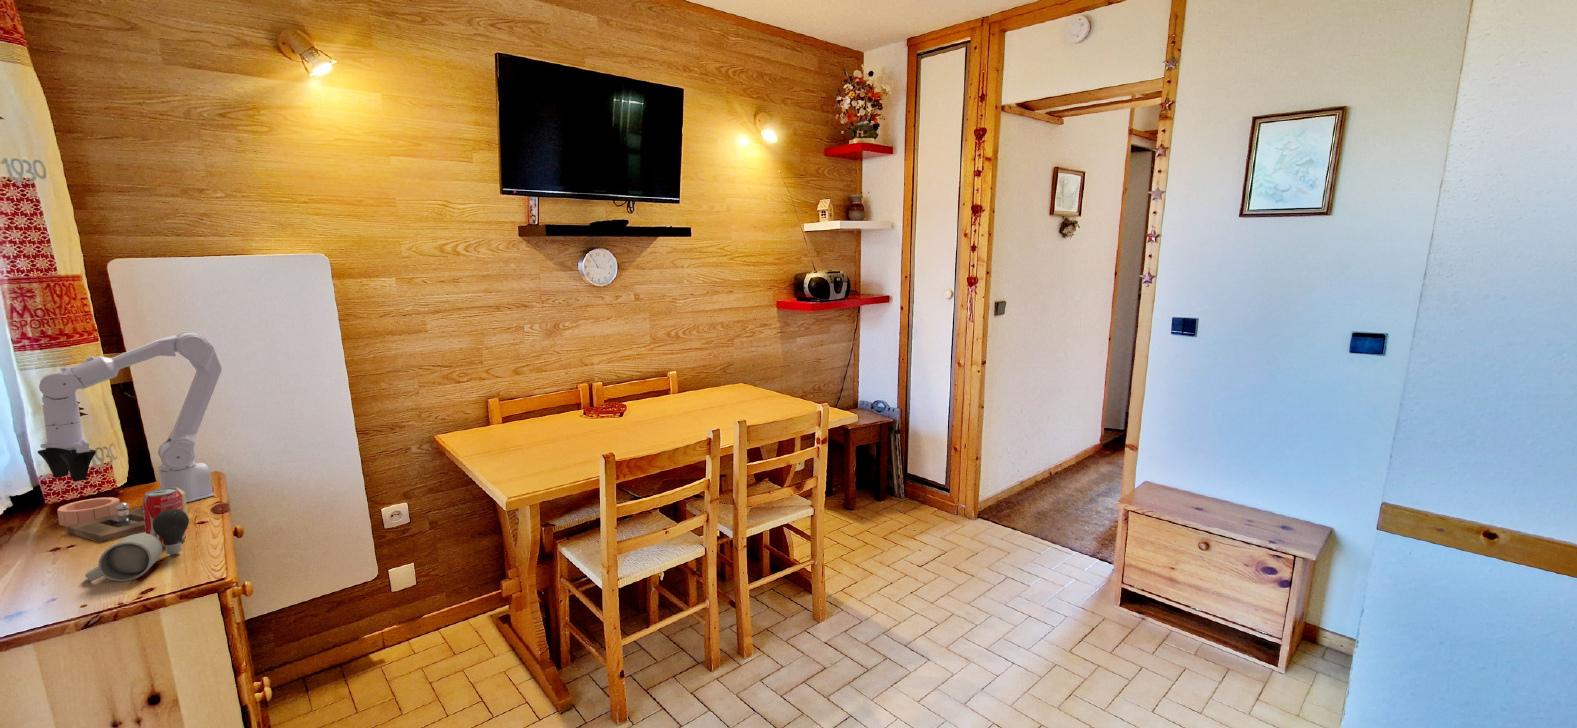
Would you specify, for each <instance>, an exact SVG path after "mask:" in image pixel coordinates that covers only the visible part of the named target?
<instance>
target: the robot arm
mask: <svg viewBox="0 0 1577 728" xmlns="http://www.w3.org/2000/svg"><path fill="white" fill-rule="evenodd" d="M176 353H178V354H179V355H180V356H182V357H183V358H184V359H186V360H188V361H189V363H190V364H191V365H192V367H193V368H194V369H195V370H196V371H195V374H194V376H193V379H192V381H191V384H190V386H189V389H188V390H187V391H188V392H187V394H186V397H185V399H184V402H183V404H182V406H181V409H180V411H179V415H178V417H177V419H176V422H175V423H174V426H173V428H172V430H171V431H170V433H169V436H168V438H167V439H166V440H165V441H164V442H162V444H160V446H159V448H158V451H157V453H158V456H159V458H160V461H161V465H160V466H158V475H159V483H160V484H159V485H160V487H159V488H160V489H162V488H170V487H177V488H179V489H181V490H182V491H184V492H185V499H186V504H187V503H191V502H194V501H197V500H201V499H207V498H209V497H213V496H215V493H213V487H212V485H213V484H212V477H211V475H212V474H211V471H210V468H209V466H208V465H207V464H206V463H205V462H196V461H194V460H195V455H196V454H195V451H194V447H195V445H196V441H197V434H198V431H199V429H200V426H201V423H202V422H203V419H204V416H205V415H206V411H207V409H208V406H209V403H210V401H211V398H212V396H213V394H214V391H215V388H216V386H217V383H218V381H219V378H220V375H221V373H222V370H223V369H222V365H221V363H220V360H219V357H218V355H217V352H216V350H215V346H214V345H213V344H211V342H210V341H208V339H207V338H206V337H204V336H202V335H201V334H200V333H196V332H194V331H183V332H181V333H179V334H177V335H175V334H174V335H169V336H166V337H162V338H159V339H157V340H153V341H151V342H148V343H145V344H144V345H141V346H137V347H136V348H135V347H134V348H133V349H130V350H128V351H125V352H123V353H120V354H118V355H116V356H113V357H108V356H107V357H106V356H103V355H98V356H97V357H94V356H93V355H91V356H88V357H86V361H83V362H80V363H77V364H75V365H72V366H69V367H67V366H62V367H61V368H60V371H54V372H50V373H48V374H46V375H44V376H43V377H42V378H41V379H40V382H39V386H38V388H39V391H40V392H41V394H42V397H41V401H42V403H43V404H42V414H43V420H44V429H45V436H46V439H47V440H45V443H46V444H43V443H42V444H40V445H39V446H40V448H42V449H40V450H37V454H38V455H39V456H41V458H43V460H44V461H45V463H46V464H47V466H48V468H49V470H50V472H51V474H52V476H53V477H54V478H55V479H58V478H64V477H67V476H69V475H70V478H71V480H72V482H74V483H77V482H81V481H85V480H87V477H88V473H89V468H90V465H91V462H92V460H93V458H94V456H95V455H96V453H97V451H96V450H94V449H90V444H89V443H88V442H86V440H85V438H84V435H83V430H82V429H83V428H82V422H81V414H80V405H79V402H78V401H77V396H76V395H77V394H76V391H77V390H79V389H81V390H85V389H88V388H91V387H93V386H95V385H97V384H100V383H103V382H105V381H108V380H111V379H114V378H117V376H118V374H119V371H120V370H123V369H124V368H127V367H130V366H133V365H135V364H139V363H141V362H145V361H147V360H152V359H153V358H154V359H155V358H156V357H160V356H161V357H163V356H164V357H166V356H167V357H176Z"/></svg>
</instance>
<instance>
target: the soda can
mask: <svg viewBox="0 0 1577 728" xmlns="http://www.w3.org/2000/svg"><path fill="white" fill-rule="evenodd" d="M142 508H143V512H144V522H145V531H144V532H145V534H150V535H153V536H155V537H156V538H158V539H159V540H160V542H161V544H162V549H164V548H165V547H166V546H165V545H164V543H163V540H162V539H161V538H160V537H159V536H158V535H157V534H156V533H155V531H154V530H153V525H152V524H153V520H154V519H155V517H156V516H157V515H158V514H159V513H161V512H163V511H165V510H168V509H179V510H182V511H183V504H182V495H181V493H180V492H179V491H178V489H177V488H163V489H161V488H159V489H153V490H150V491H148V492H145V493H144V496H143V498H142ZM186 534H187V533H186V531H185V532H184V534H183V537H182V541H181V543H182V542H183V541H184V540H185V539H186V537H187V536H186Z"/></svg>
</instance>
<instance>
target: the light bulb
mask: <svg viewBox="0 0 1577 728" xmlns="http://www.w3.org/2000/svg"><path fill="white" fill-rule="evenodd" d="M189 524H190V519H189V515H188V513H187V514H186V513H185V512H183V511H182V510H179V509H168V510H165V511H163V512H161V513H159V514H158V515H157V516H156V517H155V519H154V520H153V524H152V525H153V530H154V531H155V533H156V534H157V535H158V536H159V537H160V538H161V539H162V540H163V543H164V545H165V546H166V547H164V548H165V553H166V554H167V555H170V556H173V557H174V555H175V556H177V555H178V553H180V552H181V551H182V549H183V548H182V542H183V541H182V537H183V534H184V532H185V533H186V530H187V529H188V528H189ZM187 527H188V528H187ZM181 541H182V542H181Z"/></svg>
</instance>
